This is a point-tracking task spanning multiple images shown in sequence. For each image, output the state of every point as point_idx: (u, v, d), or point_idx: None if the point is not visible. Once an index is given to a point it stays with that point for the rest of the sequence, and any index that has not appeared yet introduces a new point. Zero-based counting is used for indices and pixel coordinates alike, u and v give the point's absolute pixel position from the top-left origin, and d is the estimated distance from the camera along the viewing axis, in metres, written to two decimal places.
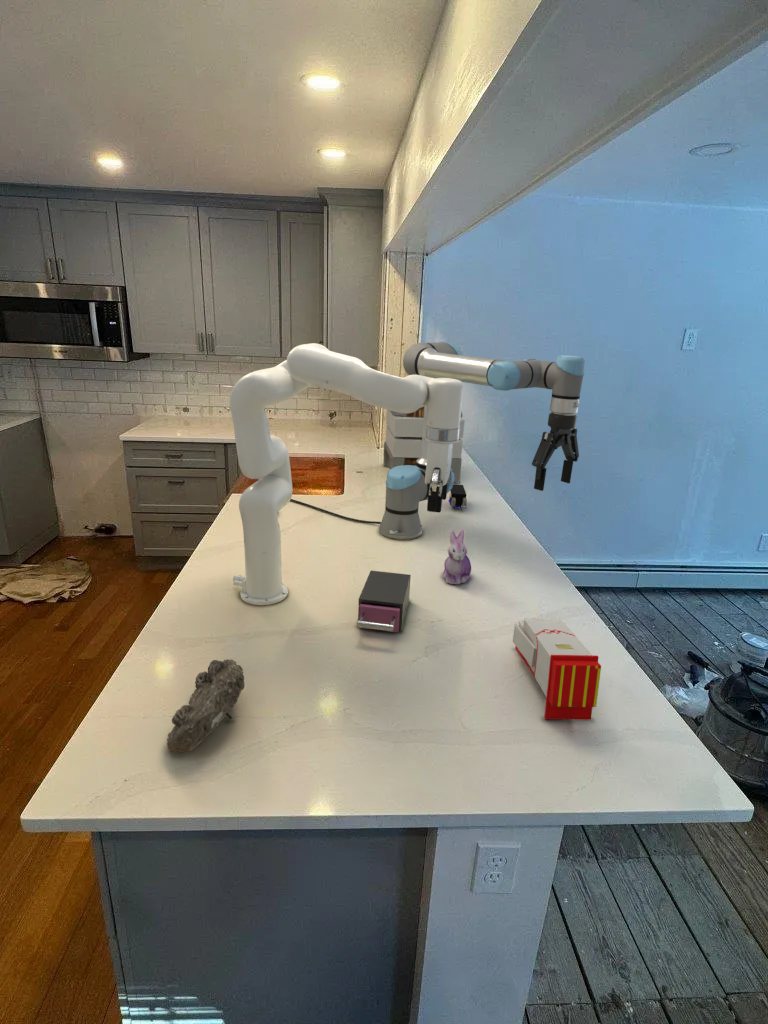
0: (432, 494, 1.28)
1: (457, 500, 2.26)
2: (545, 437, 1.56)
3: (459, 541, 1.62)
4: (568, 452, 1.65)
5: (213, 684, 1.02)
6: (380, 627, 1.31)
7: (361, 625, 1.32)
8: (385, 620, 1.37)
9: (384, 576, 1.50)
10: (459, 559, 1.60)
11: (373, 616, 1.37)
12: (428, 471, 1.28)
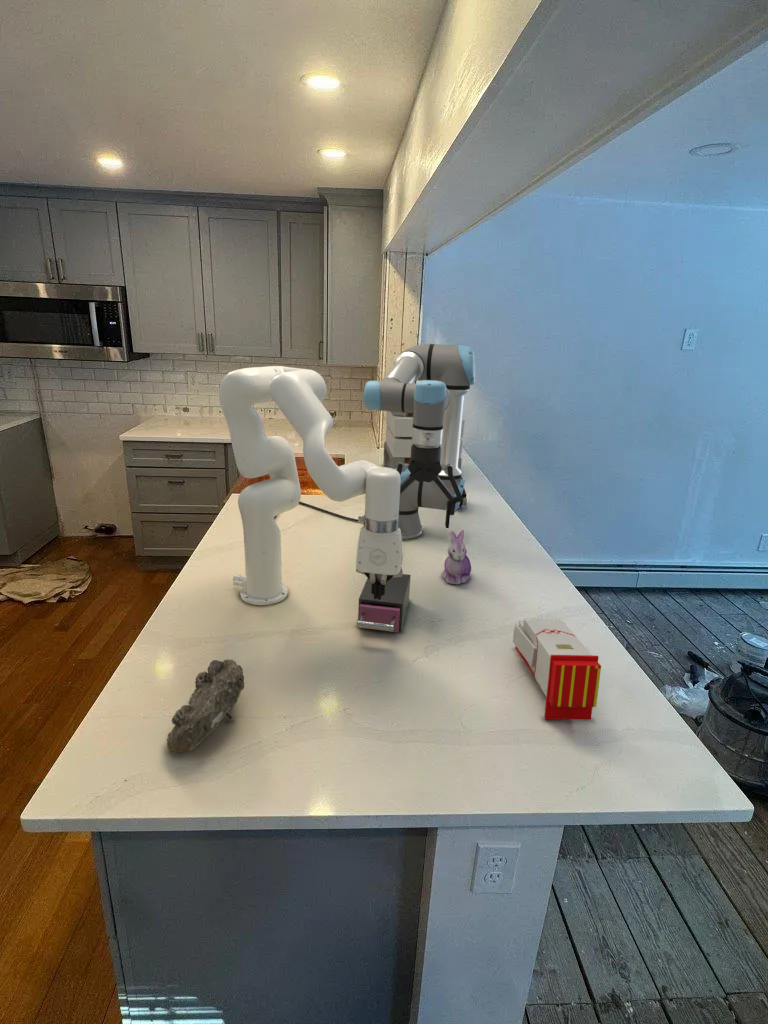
0: None
1: None
2: (397, 467, 1.42)
3: (459, 541, 1.62)
4: (443, 492, 1.43)
5: (213, 684, 1.02)
6: (380, 627, 1.31)
7: (361, 625, 1.32)
8: (385, 620, 1.37)
9: None
10: (459, 559, 1.60)
11: (373, 616, 1.37)
12: (400, 561, 1.26)
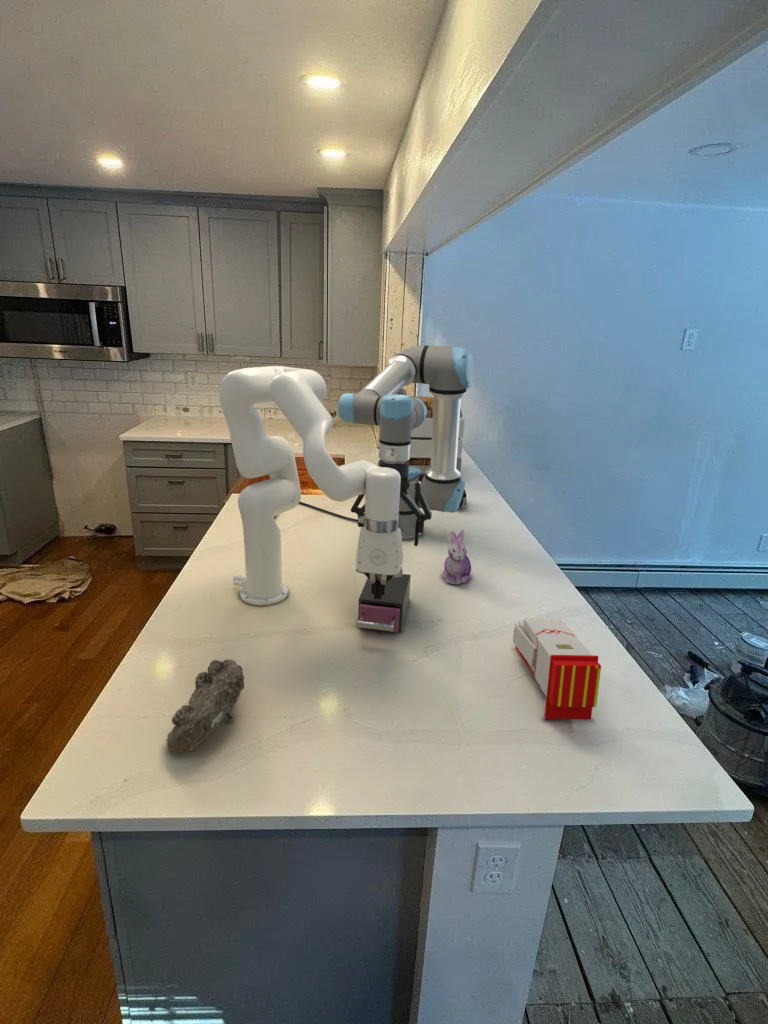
0: None
1: None
2: None
3: (459, 541, 1.62)
4: None
5: (213, 684, 1.02)
6: (380, 627, 1.31)
7: (361, 625, 1.32)
8: (385, 620, 1.37)
9: None
10: (459, 559, 1.60)
11: (373, 616, 1.37)
12: (400, 561, 1.26)
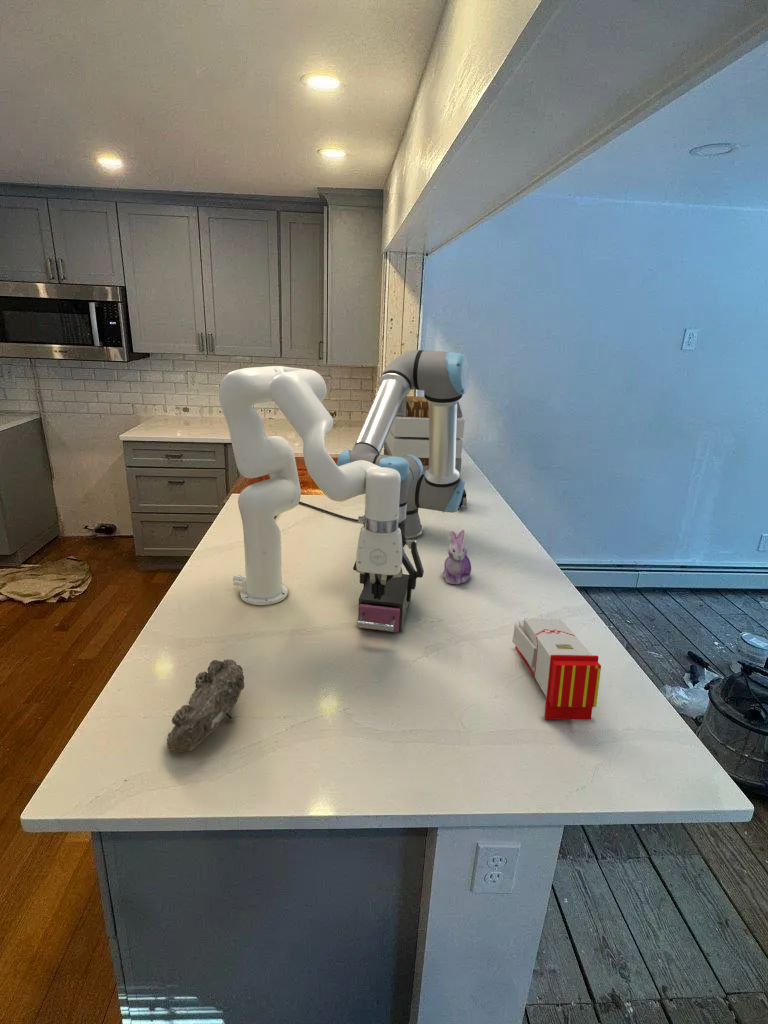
0: None
1: None
2: None
3: (459, 541, 1.62)
4: None
5: (213, 684, 1.02)
6: (380, 627, 1.31)
7: (361, 625, 1.32)
8: (385, 620, 1.37)
9: None
10: (459, 559, 1.60)
11: (373, 616, 1.37)
12: (400, 561, 1.26)
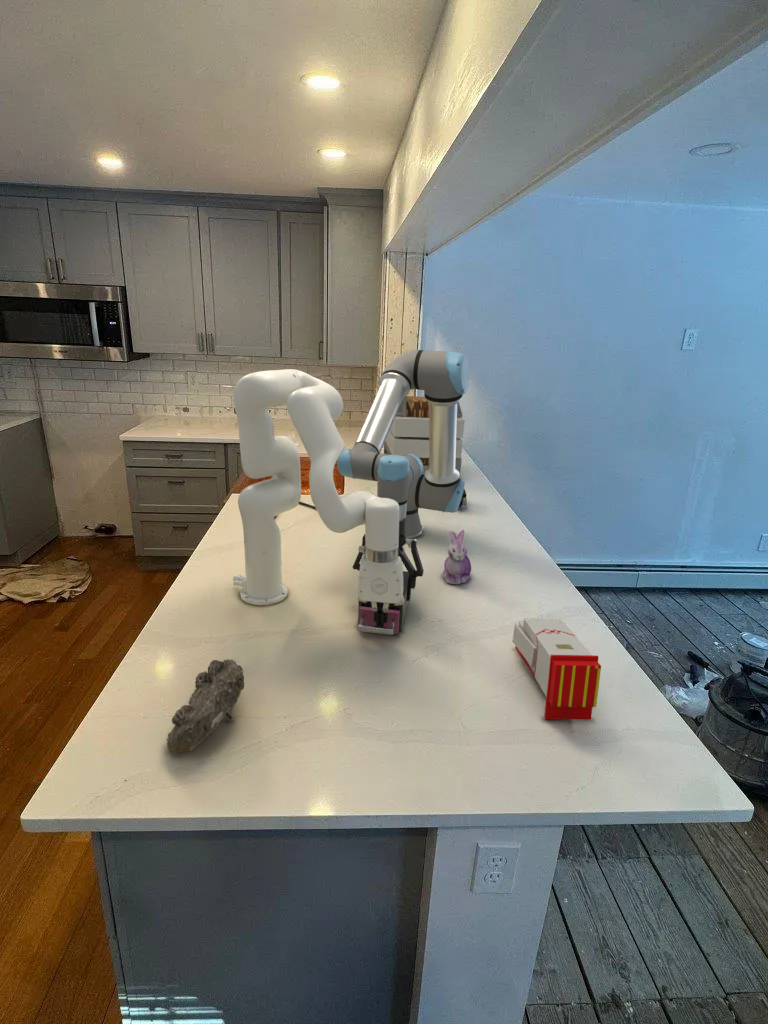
0: None
1: None
2: None
3: (459, 541, 1.62)
4: None
5: (213, 684, 1.02)
6: (380, 631, 1.31)
7: (361, 629, 1.32)
8: None
9: None
10: (459, 559, 1.60)
11: (372, 618, 1.36)
12: (401, 589, 1.28)
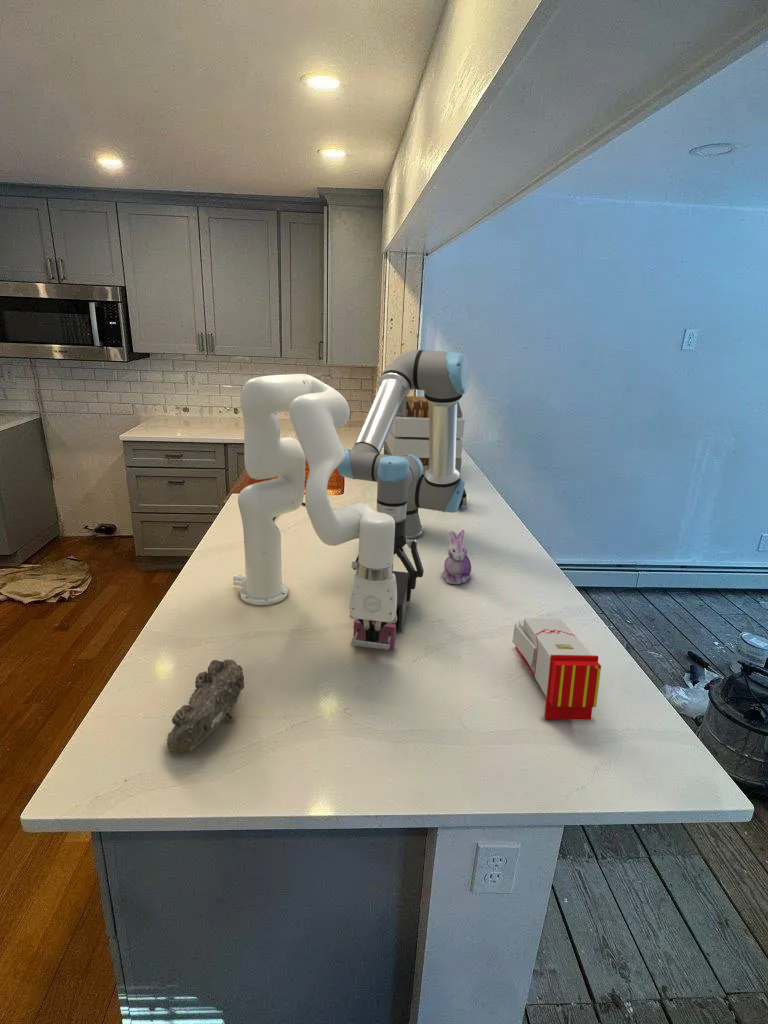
0: None
1: None
2: None
3: (459, 541, 1.62)
4: None
5: (213, 684, 1.02)
6: (376, 646, 1.25)
7: (355, 644, 1.26)
8: (381, 636, 1.31)
9: None
10: (459, 559, 1.60)
11: None
12: (395, 607, 1.23)
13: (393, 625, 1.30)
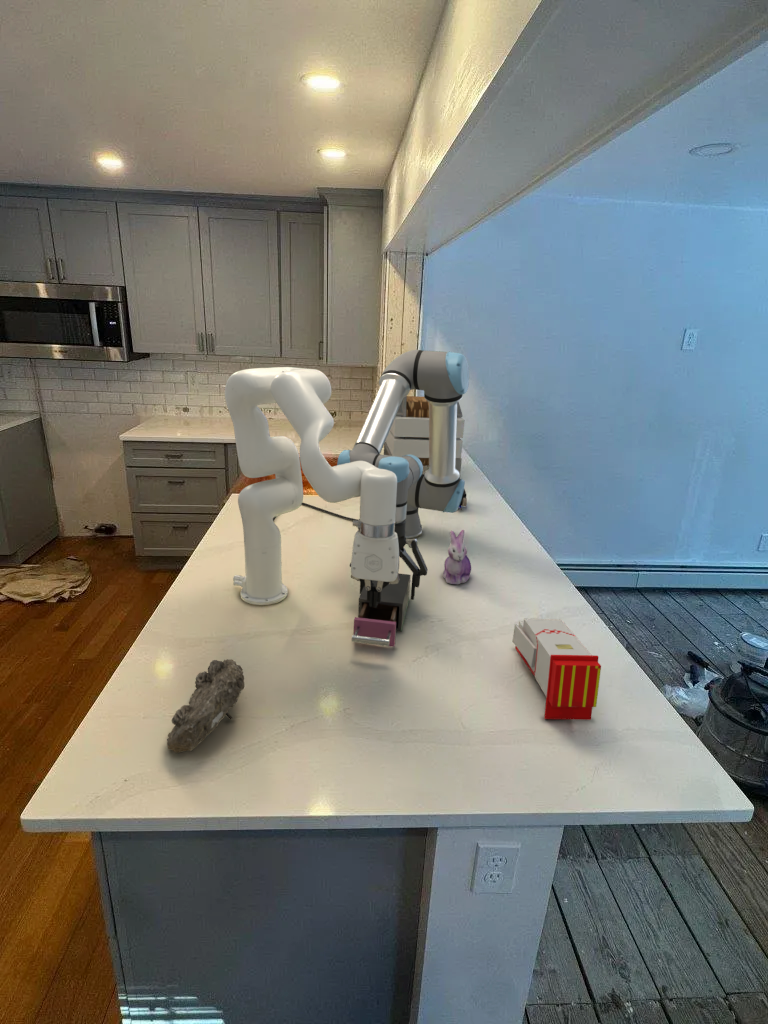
0: None
1: None
2: None
3: (459, 541, 1.62)
4: None
5: (213, 684, 1.02)
6: (376, 642, 1.25)
7: (355, 640, 1.26)
8: (381, 634, 1.31)
9: None
10: (459, 559, 1.60)
11: (368, 630, 1.31)
12: (397, 566, 1.20)
13: (393, 622, 1.30)
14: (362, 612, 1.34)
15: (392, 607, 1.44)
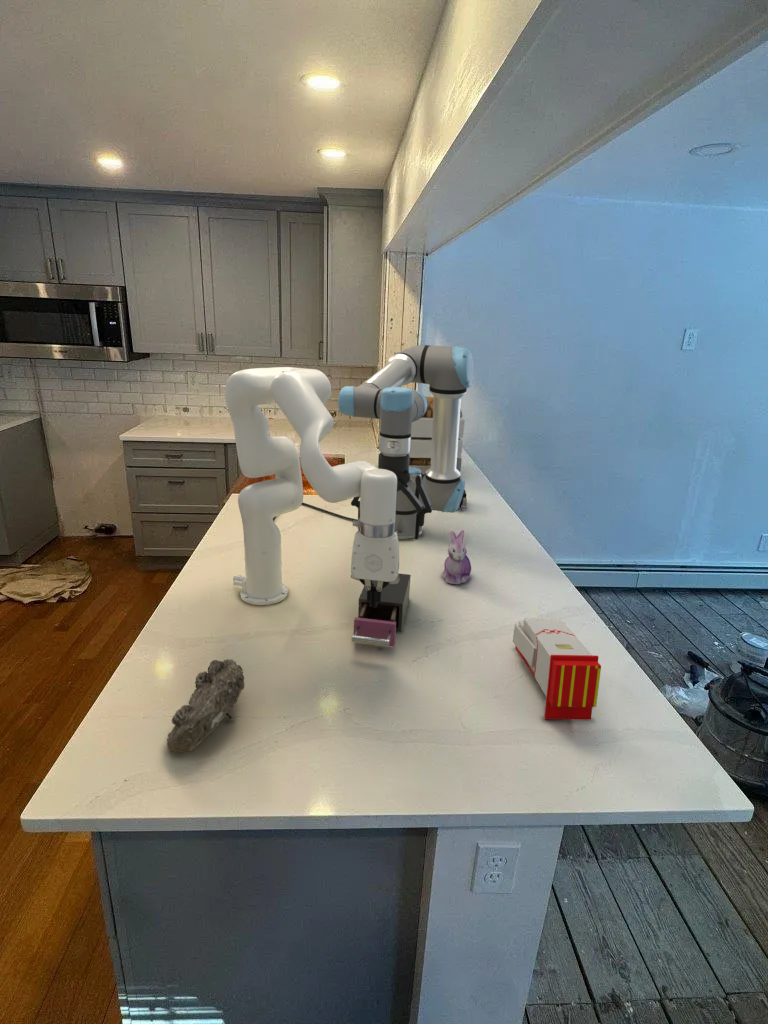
0: None
1: None
2: None
3: (459, 541, 1.62)
4: None
5: (213, 684, 1.02)
6: (376, 642, 1.25)
7: (355, 640, 1.26)
8: (381, 634, 1.31)
9: None
10: (459, 559, 1.60)
11: (368, 630, 1.31)
12: (397, 566, 1.20)
13: (393, 622, 1.30)
14: (362, 612, 1.34)
15: (392, 607, 1.44)
